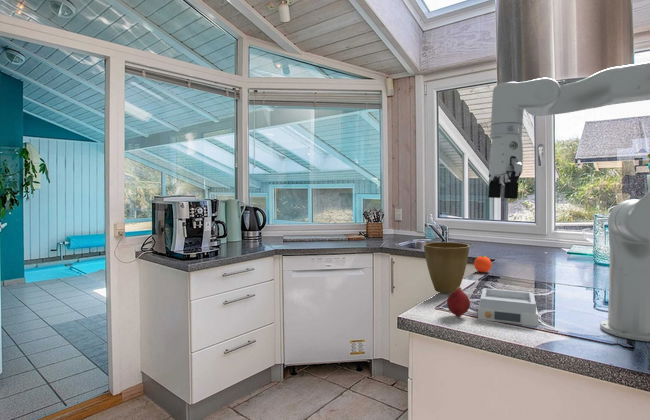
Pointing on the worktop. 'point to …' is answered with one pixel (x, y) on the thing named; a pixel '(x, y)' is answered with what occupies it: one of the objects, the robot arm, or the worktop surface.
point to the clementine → (482, 264)
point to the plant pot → (446, 264)
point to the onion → (458, 302)
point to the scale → (508, 307)
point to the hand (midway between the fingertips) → (502, 198)
